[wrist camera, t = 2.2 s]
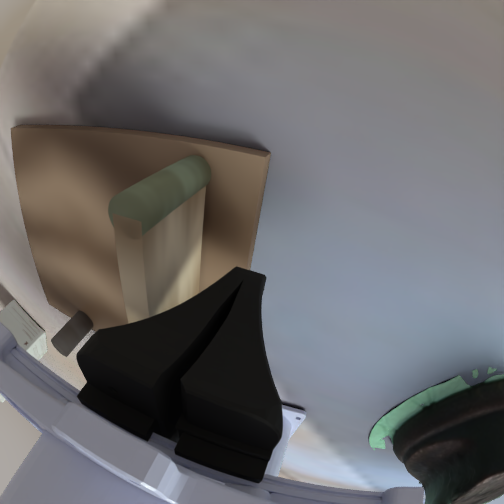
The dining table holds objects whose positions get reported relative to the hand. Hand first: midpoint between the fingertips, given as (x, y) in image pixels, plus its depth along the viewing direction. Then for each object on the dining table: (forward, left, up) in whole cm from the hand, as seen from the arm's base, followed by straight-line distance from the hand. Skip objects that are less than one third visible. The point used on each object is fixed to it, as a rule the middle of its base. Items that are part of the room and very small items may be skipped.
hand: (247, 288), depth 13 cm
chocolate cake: (-13, -23, -4) cm, 26 cm away
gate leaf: (-3, +4, -2) cm, 5 cm away
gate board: (-4, +11, -3) cm, 12 cm away
